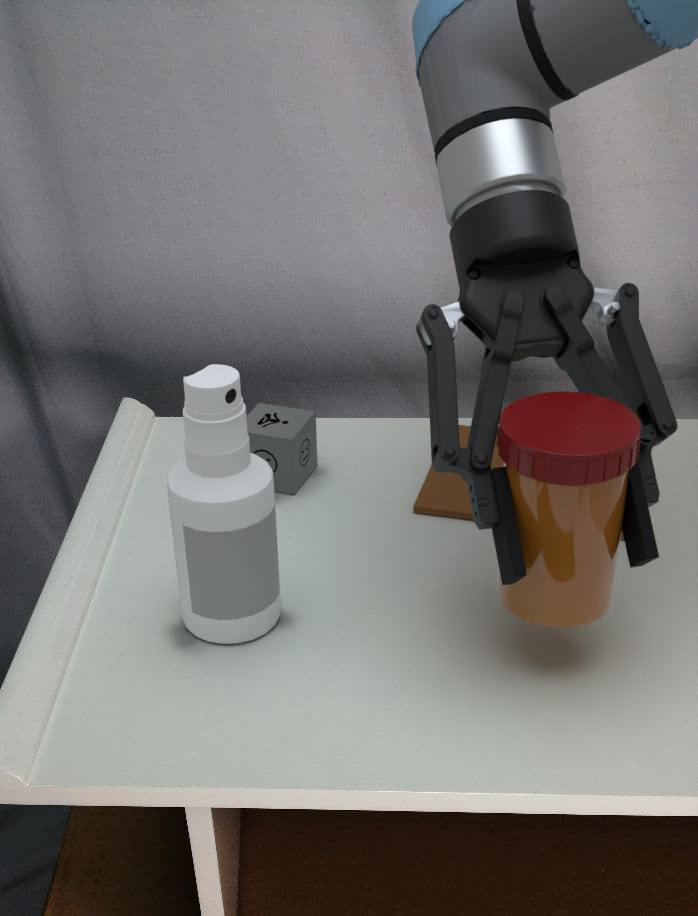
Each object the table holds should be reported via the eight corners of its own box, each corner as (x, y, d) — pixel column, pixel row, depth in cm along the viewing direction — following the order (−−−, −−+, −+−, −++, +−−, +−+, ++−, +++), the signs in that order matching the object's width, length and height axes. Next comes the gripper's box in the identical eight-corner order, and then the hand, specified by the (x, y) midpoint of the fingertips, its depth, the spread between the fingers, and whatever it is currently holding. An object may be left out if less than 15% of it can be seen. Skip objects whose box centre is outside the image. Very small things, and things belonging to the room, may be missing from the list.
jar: (618, 569, 76) (637, 407, 69) (607, 635, 70) (628, 466, 64) (506, 554, 78) (515, 396, 71) (487, 618, 72) (495, 452, 66)
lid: (642, 426, 70) (646, 397, 69) (632, 493, 64) (636, 462, 63) (508, 413, 73) (510, 385, 72) (486, 476, 66) (487, 447, 65)
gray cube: (262, 456, 99) (259, 402, 96) (317, 465, 97) (315, 411, 95) (237, 484, 95) (233, 430, 93) (294, 495, 94) (291, 439, 91)
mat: (640, 450, 97) (641, 444, 97) (626, 540, 86) (627, 533, 86) (449, 429, 102) (449, 423, 101) (413, 512, 91) (413, 506, 90)
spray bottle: (230, 659, 76) (208, 412, 67) (161, 618, 81) (131, 379, 71) (302, 612, 80) (291, 372, 71) (233, 575, 85) (214, 343, 75)
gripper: (638, 227, 78) (715, 561, 74) (342, 258, 76) (401, 605, 71) (684, 167, 71) (772, 535, 66) (357, 200, 69) (424, 582, 64)
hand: (579, 570), depth 69 cm, fingers closed on jar, 7 cm apart
